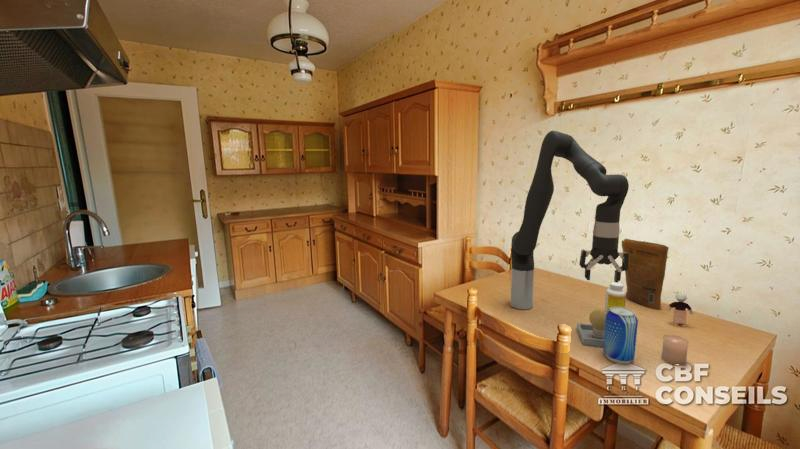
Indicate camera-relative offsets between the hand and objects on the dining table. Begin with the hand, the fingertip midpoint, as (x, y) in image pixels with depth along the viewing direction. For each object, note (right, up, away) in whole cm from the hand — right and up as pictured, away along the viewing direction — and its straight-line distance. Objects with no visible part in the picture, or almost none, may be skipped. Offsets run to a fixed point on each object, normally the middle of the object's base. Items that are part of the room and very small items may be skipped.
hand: (601, 280), depth 118 cm
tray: (+1, -21, +4) cm, 22 cm away
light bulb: (+1, -21, +4) cm, 21 cm away
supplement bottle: (+19, -18, +23) cm, 35 cm away
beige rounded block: (+16, -23, -10) cm, 30 cm away
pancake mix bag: (+36, -15, +33) cm, 52 cm away
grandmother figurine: (+36, -19, +12) cm, 43 cm away
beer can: (0, -24, -8) cm, 25 cm away
